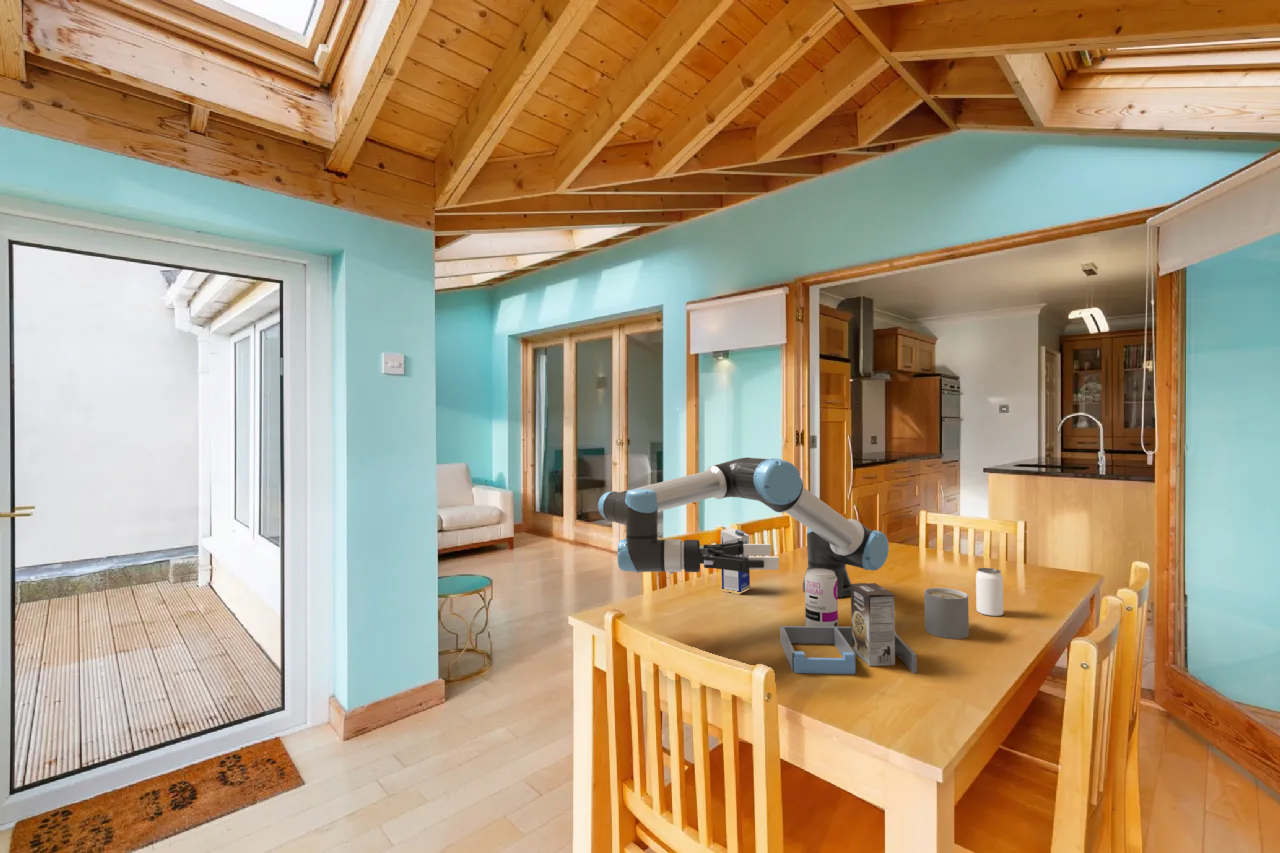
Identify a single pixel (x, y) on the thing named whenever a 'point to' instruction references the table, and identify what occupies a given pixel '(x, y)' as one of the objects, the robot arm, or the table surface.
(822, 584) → the supplement can
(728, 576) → the milk carton
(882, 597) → the coffee box
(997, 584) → the can
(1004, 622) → the table surface
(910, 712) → the table surface
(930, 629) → the coffee mug
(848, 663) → the divider rack
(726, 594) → the table surface
